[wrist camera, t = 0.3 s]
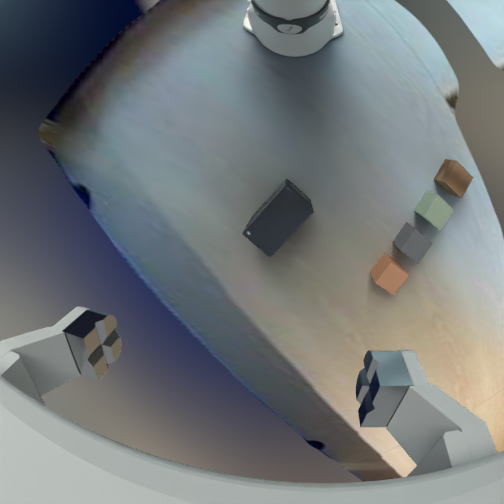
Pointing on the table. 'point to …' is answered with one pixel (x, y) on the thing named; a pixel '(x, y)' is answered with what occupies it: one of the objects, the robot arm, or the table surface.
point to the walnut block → (453, 178)
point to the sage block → (434, 210)
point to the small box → (278, 218)
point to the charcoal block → (412, 243)
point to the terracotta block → (388, 274)
